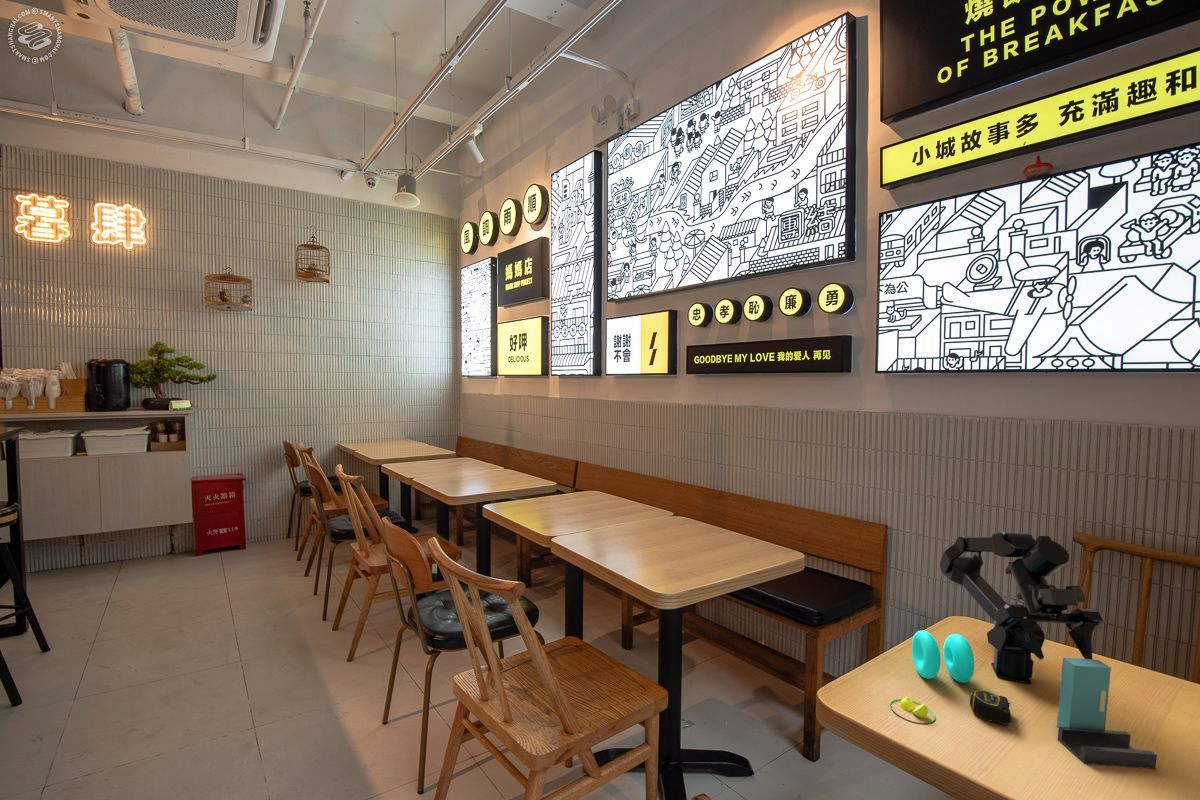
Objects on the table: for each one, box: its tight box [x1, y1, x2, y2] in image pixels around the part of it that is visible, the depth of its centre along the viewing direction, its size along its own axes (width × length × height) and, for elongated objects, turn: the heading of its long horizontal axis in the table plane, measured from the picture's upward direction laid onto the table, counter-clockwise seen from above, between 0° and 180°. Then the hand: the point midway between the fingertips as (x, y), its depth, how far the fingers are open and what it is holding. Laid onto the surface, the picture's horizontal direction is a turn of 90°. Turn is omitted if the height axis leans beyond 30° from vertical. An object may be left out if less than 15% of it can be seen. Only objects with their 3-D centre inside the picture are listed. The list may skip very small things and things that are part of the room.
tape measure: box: [969, 689, 1012, 725], centre depth 116 cm, size 7×7×4 cm
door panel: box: [1056, 657, 1112, 730], centre depth 111 cm, size 3×6×14 cm, turn 86°
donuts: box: [911, 630, 975, 683], centre depth 130 cm, size 10×10×10 cm
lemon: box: [890, 696, 936, 724], centre depth 116 cm, size 8×8×3 cm
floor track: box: [1057, 727, 1158, 770], centre depth 105 cm, size 6×12×3 cm, turn 86°
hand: (1066, 660), depth 116 cm, fingers open, 9 cm apart
